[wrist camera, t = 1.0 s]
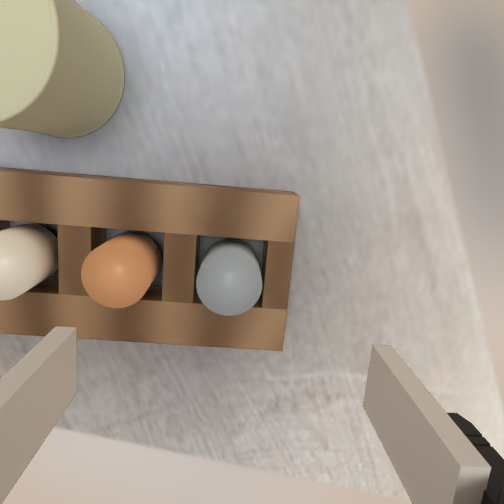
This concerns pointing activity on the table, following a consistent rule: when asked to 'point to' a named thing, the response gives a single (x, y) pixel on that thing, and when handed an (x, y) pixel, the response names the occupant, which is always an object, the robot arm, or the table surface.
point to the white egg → (25, 258)
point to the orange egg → (121, 269)
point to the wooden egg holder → (174, 261)
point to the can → (56, 68)
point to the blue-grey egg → (229, 278)
